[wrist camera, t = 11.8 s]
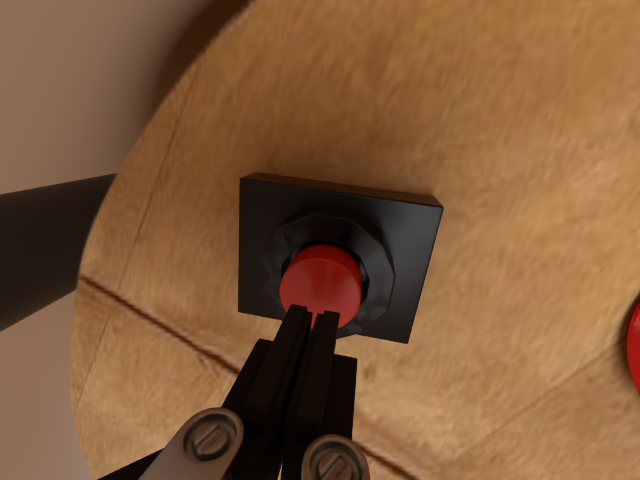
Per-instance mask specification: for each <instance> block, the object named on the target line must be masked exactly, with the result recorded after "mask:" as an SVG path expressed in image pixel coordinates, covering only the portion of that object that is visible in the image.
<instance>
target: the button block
mask: <svg viewBox="0 0 640 480" xmlns="http://www.w3.org/2000/svg"><path fill="white" fill-rule="evenodd" d="M443 209H444V207H443V206H442V205H441V203H440V202H439V201H438V200H437V199H436V198H435V197H432V196H425V195H417V194H410V193H403V192H396V191H389V190H381V189H374V188H367V187H360V186H352V185H345V184H338V183H331V182H323V181H316V180H309V179H302V178H294V177H287V176H280V175H273V174H265V173H258V172H254V173H252V174H249V175H247V176H244V177H242V178H240V202H239V278H238V312H241V313H246V314H252V315H257V316H262V317H267V318H273V319H278V320H281V321H283V319H284V317H285V315H286V313H287V312H286V311H285V309H284V307H283V305H282V302H281V299H280V293H279V288H280V283H281V279H282V277H283V275H284V274H285V272H286V270H287V268H288V267H289V265H290V263H291V262H292V260H293V258H294V257H295V256H296V255H297V254H298V253H299V252H300V251H301V250H303V249H305V248H307V247H309V246H313V245H318V244H326V245H332V246H336V247H339V248H341V249H343V250H344V251H346V252H347V253H348V254H350V255H351V256H352V257H353V258H354V259H355V261H356V262H357V264H358V266H359V268H360V271H361V275H362V289H361V303H360V307H359V309H358V312H357V313H356V315H355V316H354V317H353V319H352V320H351V321H349V322H348V323H347V324H345V325H344V326H342V327H340V328H338V332H337V338H336V339H339V338H343V337H347V336H351V335H355V334H357V335H362V336H368V337H373V338H378V339H384V340H389V341H394V342H399V343H405V344H408V341H409V338H410V334H411V330H412V326H413V322H414V319H415V315H416V311H417V307H418V303H419V300H420V296H421V292H422V288H423V285H424V281H425V277H426V273H427V269H428V266H429V262H430V258H431V254H432V250H433V247H434V243H435V239H436V235H437V232H438V228H439V224H440V220H441V216H442V213H443ZM311 332H312V329H311ZM311 332H310V335H311Z"/></svg>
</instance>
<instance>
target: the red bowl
mask: <svg viewBox="0 0 640 480" xmlns="http://www.w3.org/2000/svg"><path fill="white" fill-rule="evenodd" d="M627 355H628V363H629V368H630V372H631V375H632V378H633V381H634V384H635V386H636V389H637V391H638V393H639V395H640V302H639V303H638V305H637V307H636V309H635V312H634V314H633V317H632V319H631V323H630V326H629V331H628V338H627Z"/></svg>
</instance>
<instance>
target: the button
mask: <svg viewBox="0 0 640 480" xmlns="http://www.w3.org/2000/svg"><path fill="white" fill-rule="evenodd" d="M361 289H362V275H361V271H360V268H359V266H358V264H357V262H356V261H355V259H354V258H353V257H352V256H351V255H350V254H348V253H347V252H346V251H344V250H343V249H341V248H339V247H336V246H332V245H326V244H318V245H313V246H309V247H307V248H305V249H303V250H301V251H300V252H299V253H298V254H297V255H296V256H295V257H294V258H293V260H292V262H291V263H290V265H289V267H288V268H287V270H286V272H285V274H284V275H283V277H282V279H281V283H280V288H279V293H280V299H281V302H282V305H283V307H284V309H285V311H286V312H287V311H288V309H289V307H290V305H291V304H296V305H301V306H306V307H307V311H309V312H313V315H312V324H311V329H313V325H314V322H315V319H316V316H317V313H320V314H323V313H324V310H328V311H333V312H338V313H340V319H339V325H338V328H340V327H342V326H344V325H345V324H347V323H348V322H349V321H351V320H352V319H353V317H354V316H355V315H356V313H357V312H358V309H359V307H360V303H361Z"/></svg>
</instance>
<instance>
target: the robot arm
mask: <svg viewBox="0 0 640 480" xmlns="http://www.w3.org/2000/svg"><path fill="white" fill-rule="evenodd" d="M312 315H313V312H309V311H307V307H306V306H301V305H296V304H291V305H290V307H289V309H288V311H287V313H286V315H285V317H284V319H283V322H282V324H281V326H280V328H279V330H278V332H277V334H276V337H275V339H274V341H269V340H264V339H259V340H258V341H257V342H256V344H255V346H254V348H253V349H252V351H251V353H250V355H249V357H248V359H247V361H246V362H245V364H244V366H243V368H242V370H241V372H240V373H239V375H238V377H237V379H236V381H235V383H234V384H233V386H232V388H231V390H230V392H229V394H228V395H227V397H226V399H225V401H224V403H223V405H222V406H221V407H217V408H209V409H206V410H202V411H200V412H198V413H197V414H195V415H193V416H192V417H191V418H190V419H189V420H188V421H187V422H186V423H184V425H183V426H182V427H181V428H180V429H179V431H178V432H177V433H176V434H175V435H174V437H173V438H172V439H171V440H170V442H169V443H168V444H167V445H166V446H165V448H163V449H161V450H159V451H157V452H154V453H152V454H150V455H148V456H146V457H144V458H142V459H140V460H138V461H135V462H133V463H131V464H129V465H127V466H125V467H123V468H121V469H119V470H116V471H114V472H112V473H110V474H108V475H106V476H104V477H102V478H100V479H97V480H277V479H278V476H279V472H280V468H281V465H282V471H281V480H370V472H369V467H368V463H367V460H366V457H365V456H364V454H363V452H362V450H361V449H360V448H359V447H358V446H357V445H356V444H355V443H354V442H353V441H352V428H353V415H354V401H355V387H356V373H357V358H352V357H347V356H342V355H338V354H334V351H335V344H336V338H337V332H338V325H339V319H340V313H338V312H333V311H328V310H324V313H323V314H320V313H317V316H316V319H315V322H314V325H313V329H312V332H311V324H312ZM310 332H311V335H310Z"/></svg>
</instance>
